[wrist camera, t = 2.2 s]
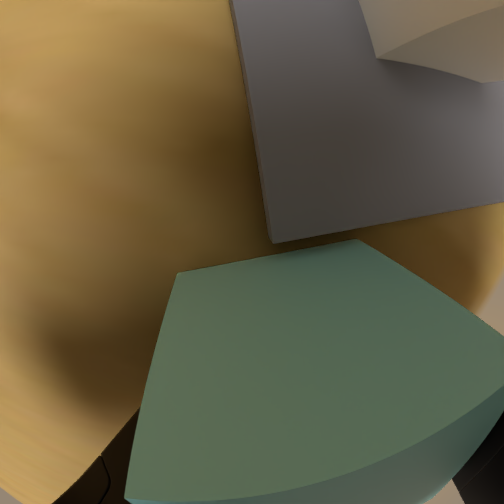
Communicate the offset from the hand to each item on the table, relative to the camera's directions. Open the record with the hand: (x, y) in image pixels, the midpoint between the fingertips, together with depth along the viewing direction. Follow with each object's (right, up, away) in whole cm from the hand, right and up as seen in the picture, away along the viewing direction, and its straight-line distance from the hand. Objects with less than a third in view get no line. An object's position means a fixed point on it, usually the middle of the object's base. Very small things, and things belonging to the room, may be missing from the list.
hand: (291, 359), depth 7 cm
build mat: (+4, +11, -2) cm, 12 cm away
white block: (+4, +11, -2) cm, 12 cm away
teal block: (0, 0, +1) cm, 1 cm away
